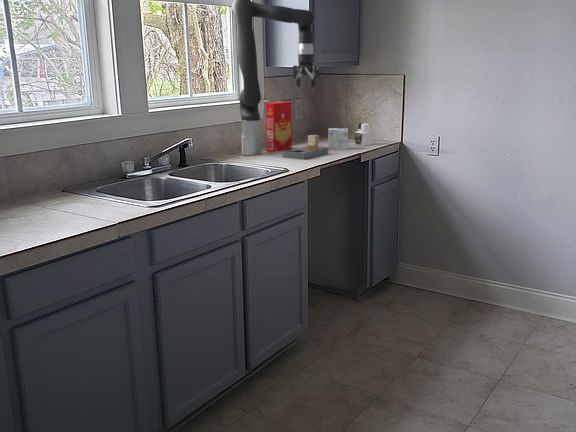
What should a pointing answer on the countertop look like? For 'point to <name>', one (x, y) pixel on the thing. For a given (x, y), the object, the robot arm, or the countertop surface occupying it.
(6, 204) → the countertop surface
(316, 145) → the peg
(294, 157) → the grey flat block
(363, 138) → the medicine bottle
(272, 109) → the food packaging
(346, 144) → the light bulb box
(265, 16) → the robot arm
